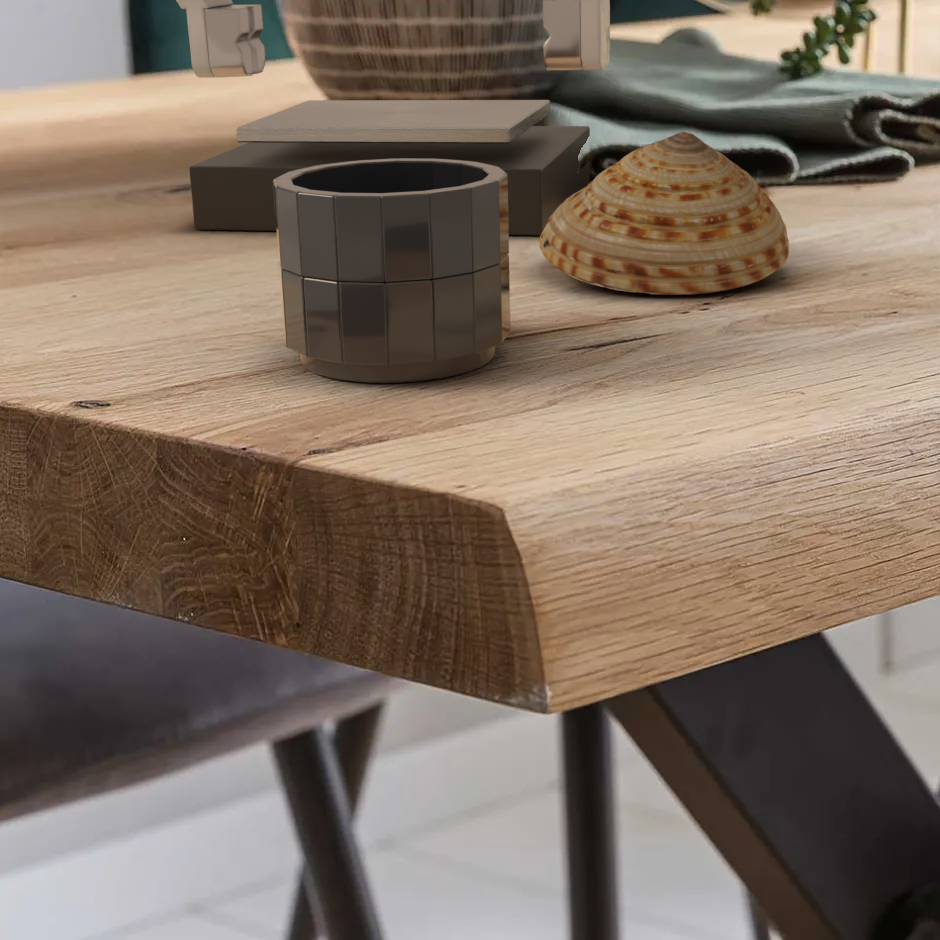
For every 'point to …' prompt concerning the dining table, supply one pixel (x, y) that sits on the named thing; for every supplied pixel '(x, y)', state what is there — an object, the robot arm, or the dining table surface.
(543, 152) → the scale
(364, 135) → the scale pan
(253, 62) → the robot arm
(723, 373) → the dining table surface
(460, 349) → the grey faceted cup
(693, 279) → the seashell
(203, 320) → the dining table surface
